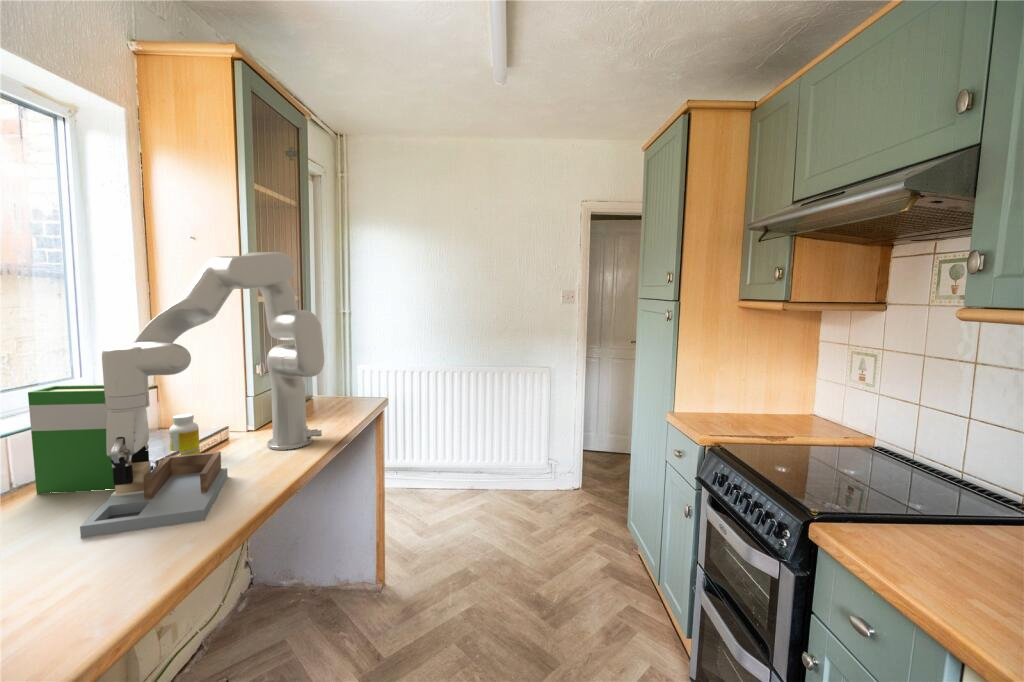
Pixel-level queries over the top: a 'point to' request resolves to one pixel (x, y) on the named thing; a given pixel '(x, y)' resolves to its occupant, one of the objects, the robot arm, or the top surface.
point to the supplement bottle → (184, 435)
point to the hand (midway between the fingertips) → (132, 475)
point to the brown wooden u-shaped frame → (183, 471)
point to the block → (136, 478)
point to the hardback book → (70, 439)
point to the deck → (155, 506)
